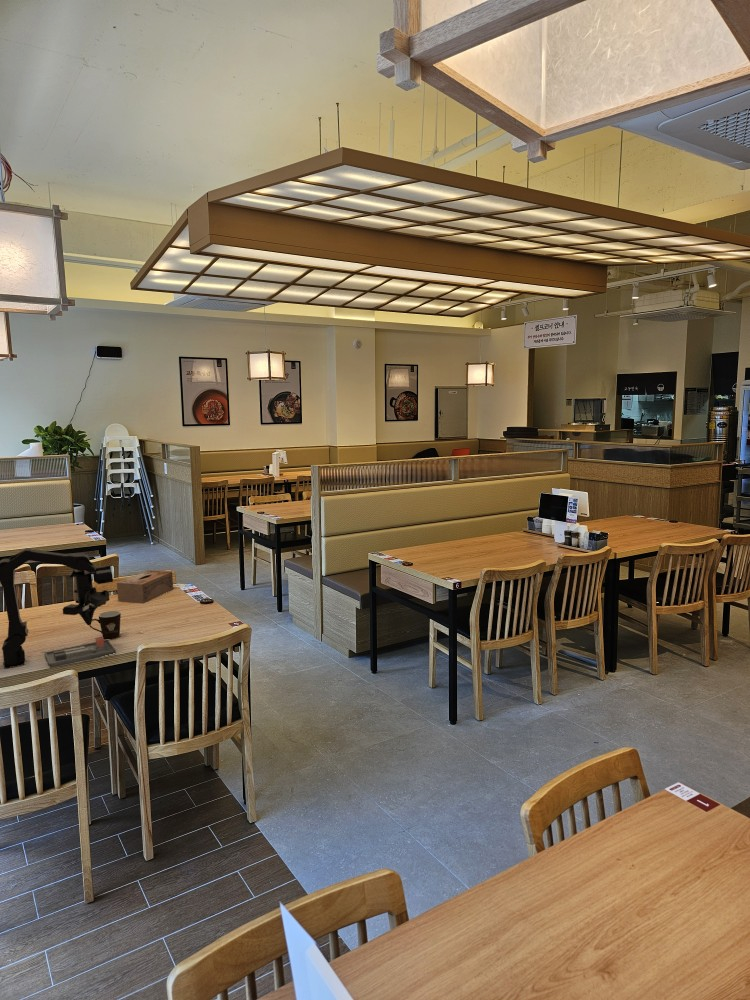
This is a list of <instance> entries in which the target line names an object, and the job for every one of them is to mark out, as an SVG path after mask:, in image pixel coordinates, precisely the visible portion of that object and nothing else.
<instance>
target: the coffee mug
mask: <svg viewBox="0 0 750 1000" xmlns="http://www.w3.org/2000/svg"><path fill="white" fill-rule="evenodd" d="M121 613H122V612H121V611H119V610H108V611H107V610H106V611H103V612H100V613H99V614H98V615H97V616H98V619H97V618H92V622H94V621H96V622H97V623H98V624H99V625H100V629H98V628H95V627H93V626H92V624H91V625H88V626H89V627H90V629H92V630H94V631H96V632H100V633H101V635H102V636H101V637H102V638H103V639H104V640H105V639H111V640H116V639H118V638H120V632H121V617H122V614H121Z"/></svg>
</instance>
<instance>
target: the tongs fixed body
mask: <svg viewBox="0 0 750 1000" xmlns="http://www.w3.org/2000/svg"><path fill="white" fill-rule="evenodd" d="M104 650H105V645H104V646H99V647H97V645H91V646H88V647H87V648H85V649H80V650H75V651H70V652H64V653H59V654H55V661H61V660H65V659H70V658H75V657H79V656H84V655H89V654H93V653H96V652H99V651H104Z"/></svg>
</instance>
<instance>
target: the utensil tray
mask: <svg viewBox="0 0 750 1000" xmlns="http://www.w3.org/2000/svg"><path fill="white" fill-rule="evenodd" d="M91 645H96V641H94V642H89V643H83V644H80V645H79V644H78V645H75V646H70V647H69V646H68V647H64V648H60V649H54V650H48V651H44V654H43V655H44V657H45V660H46V663H47V662H48V663H47V665H48V667H49V669H51V668H57V667H60V666H61V667H62V666H66V665H70V664H74V663H75V662H76V663H78V662H79V663H80V662H85V661H89V660H93V659H98V658H103V657H102V656H104V657H106V656H105V655H108V656H110V655H109V654H113V653H116V654H117V649H116V648H115V647H114V646H113V645H112V643H111V641H109V640H105V639H104V645H105V650H104V651H99V652H96V653H93V654H89V655H84V656H79V657H75V658H70V659H65V660H61V661H55V659H54V651H59V650H66V649H72V648H77V647H83V646H85V648H87V647H88V646H91ZM113 655H114V654H113ZM76 663H75V664H76Z"/></svg>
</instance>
